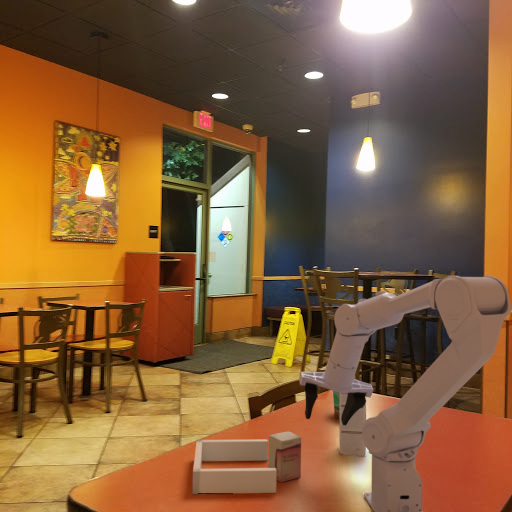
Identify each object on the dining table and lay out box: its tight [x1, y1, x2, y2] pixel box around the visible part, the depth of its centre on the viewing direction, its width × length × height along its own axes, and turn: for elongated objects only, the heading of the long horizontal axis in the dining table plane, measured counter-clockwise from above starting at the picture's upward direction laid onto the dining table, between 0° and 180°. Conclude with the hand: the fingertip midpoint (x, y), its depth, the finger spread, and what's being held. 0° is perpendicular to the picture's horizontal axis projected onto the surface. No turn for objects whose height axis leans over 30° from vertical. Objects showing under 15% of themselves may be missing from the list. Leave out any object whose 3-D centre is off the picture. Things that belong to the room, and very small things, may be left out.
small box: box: [267, 431, 302, 483], centre depth 98 cm, size 5×4×8 cm
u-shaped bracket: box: [192, 438, 277, 495], centre depth 98 cm, size 16×15×4 cm
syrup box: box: [338, 393, 367, 457], centre depth 113 cm, size 6×6×14 cm
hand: (325, 419), depth 102 cm, fingers open, 7 cm apart
